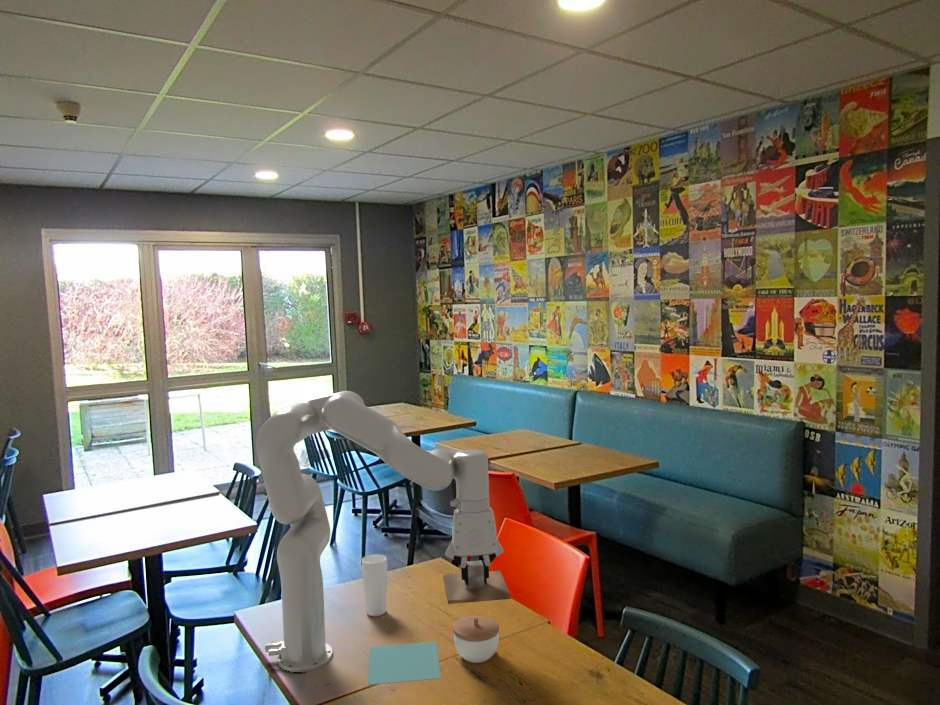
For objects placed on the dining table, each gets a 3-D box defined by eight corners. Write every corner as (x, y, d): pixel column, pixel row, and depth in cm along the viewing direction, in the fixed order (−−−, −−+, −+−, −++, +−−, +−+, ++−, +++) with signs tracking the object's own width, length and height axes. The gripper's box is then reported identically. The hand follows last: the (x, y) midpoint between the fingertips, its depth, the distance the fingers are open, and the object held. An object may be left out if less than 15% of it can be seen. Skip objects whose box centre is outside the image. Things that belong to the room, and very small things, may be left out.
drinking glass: (372, 621, 171) (370, 565, 170) (358, 612, 176) (356, 558, 175) (393, 612, 175) (391, 558, 174) (379, 604, 181) (378, 552, 180)
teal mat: (367, 686, 141) (367, 684, 141) (370, 649, 157) (370, 647, 157) (441, 680, 143) (440, 678, 143) (436, 643, 159) (436, 641, 159)
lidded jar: (473, 641, 159) (472, 604, 159) (508, 655, 153) (508, 616, 152) (444, 660, 151) (443, 621, 150) (480, 675, 144) (479, 634, 144)
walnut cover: (448, 604, 143) (447, 578, 143) (443, 578, 157) (442, 554, 156) (510, 598, 145) (510, 573, 144) (500, 573, 158) (499, 550, 158)
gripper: (438, 511, 145) (440, 591, 146) (511, 506, 147) (513, 585, 148) (436, 501, 152) (438, 578, 153) (505, 497, 154) (507, 572, 155)
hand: (475, 581), depth 151 cm, fingers closed on walnut cover, 3 cm apart
